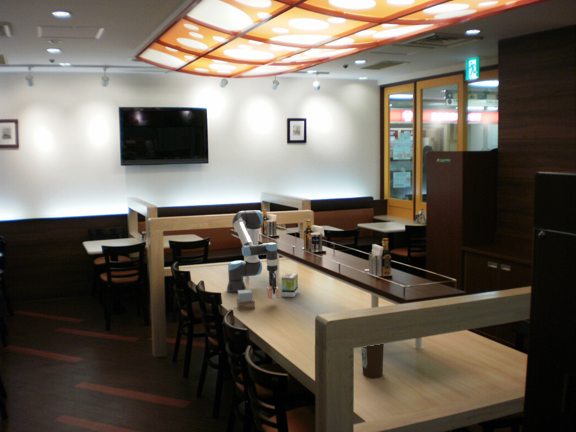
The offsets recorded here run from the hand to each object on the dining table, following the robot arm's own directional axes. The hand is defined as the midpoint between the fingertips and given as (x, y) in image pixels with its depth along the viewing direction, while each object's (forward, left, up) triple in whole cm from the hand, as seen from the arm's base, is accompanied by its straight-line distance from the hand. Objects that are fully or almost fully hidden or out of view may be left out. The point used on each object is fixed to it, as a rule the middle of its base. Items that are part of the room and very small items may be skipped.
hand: (273, 296), depth 366 cm
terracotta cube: (0, 0, 0) cm, 0 cm away
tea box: (-25, +18, -6) cm, 31 cm away
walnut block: (0, -20, -6) cm, 21 cm away
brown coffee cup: (+130, +22, -6) cm, 132 cm away
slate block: (0, -20, 0) cm, 20 cm away
